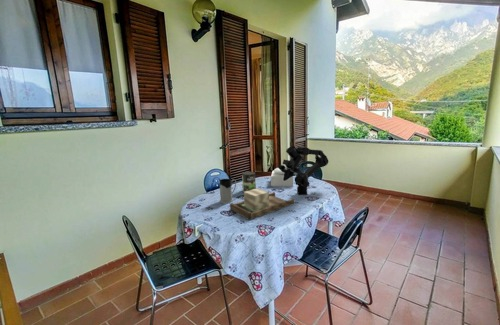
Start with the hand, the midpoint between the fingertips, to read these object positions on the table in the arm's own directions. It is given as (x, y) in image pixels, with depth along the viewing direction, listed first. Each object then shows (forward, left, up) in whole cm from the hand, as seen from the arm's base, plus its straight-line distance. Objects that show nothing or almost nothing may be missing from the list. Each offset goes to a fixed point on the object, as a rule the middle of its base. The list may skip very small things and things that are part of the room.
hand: (283, 180), depth 166 cm
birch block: (+17, +17, -12) cm, 26 cm away
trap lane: (+13, +13, -14) cm, 23 cm away
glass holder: (+38, +2, -14) cm, 41 cm away
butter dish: (+2, -40, -14) cm, 42 cm away
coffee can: (+27, -19, -14) cm, 36 cm away
